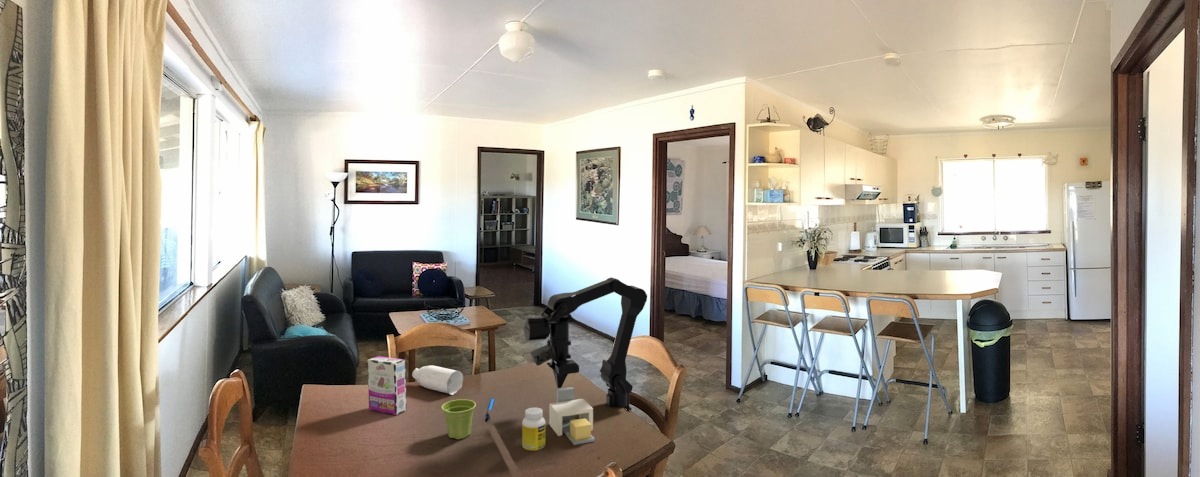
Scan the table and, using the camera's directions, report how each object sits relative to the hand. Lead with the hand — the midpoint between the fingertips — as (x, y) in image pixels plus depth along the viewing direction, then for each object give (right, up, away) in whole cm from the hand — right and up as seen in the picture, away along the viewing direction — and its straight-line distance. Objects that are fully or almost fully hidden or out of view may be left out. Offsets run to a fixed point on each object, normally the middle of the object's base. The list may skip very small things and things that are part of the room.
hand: (559, 387), depth 172 cm
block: (+7, -10, -16) cm, 20 cm away
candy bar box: (-54, -9, +6) cm, 55 cm away
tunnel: (+3, -10, -5) cm, 12 cm away
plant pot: (-28, -11, -11) cm, 31 cm away
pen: (-22, -9, +8) cm, 25 cm away
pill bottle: (-5, -12, -20) cm, 24 cm away
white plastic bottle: (-44, -7, +24) cm, 51 cm away
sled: (+5, -10, -11) cm, 16 cm away
